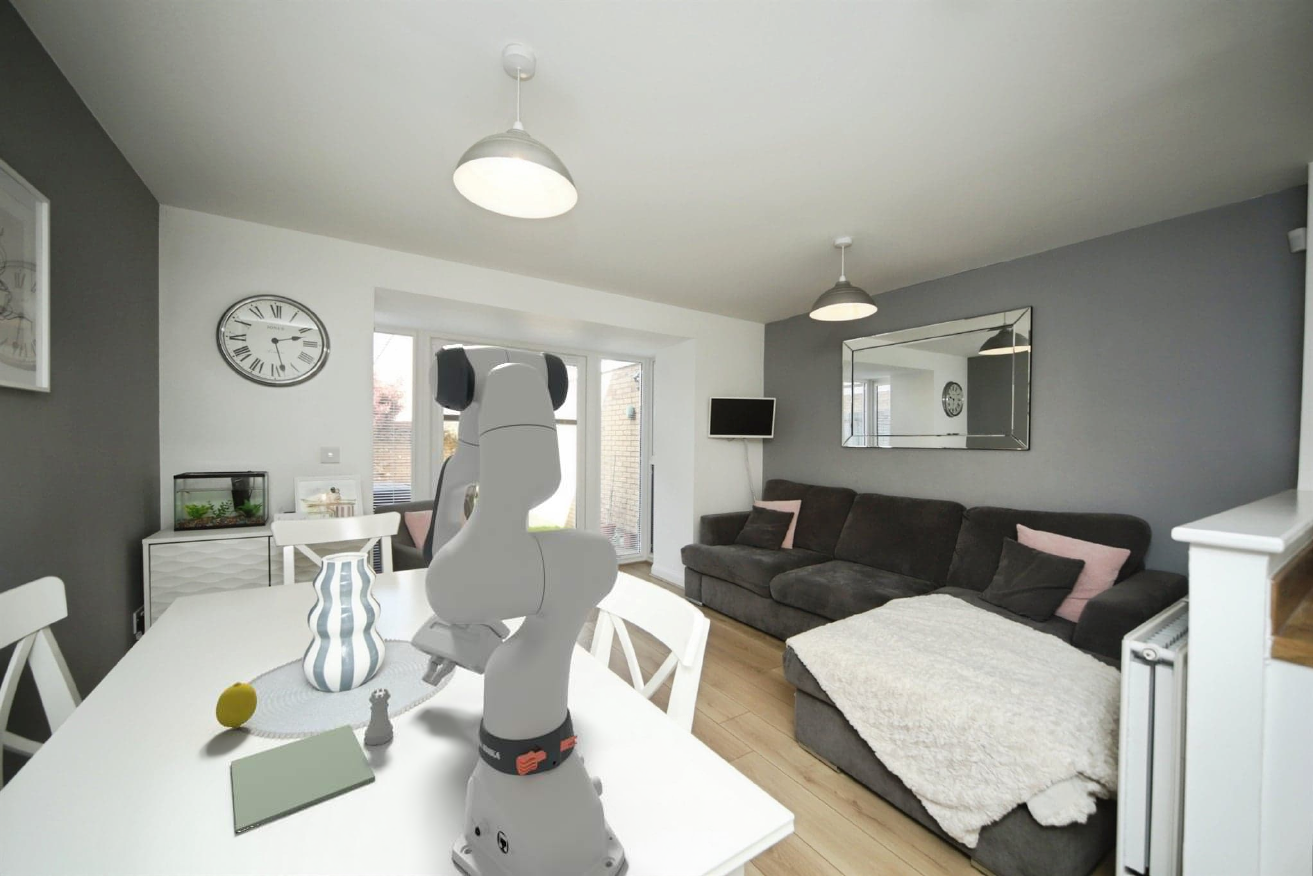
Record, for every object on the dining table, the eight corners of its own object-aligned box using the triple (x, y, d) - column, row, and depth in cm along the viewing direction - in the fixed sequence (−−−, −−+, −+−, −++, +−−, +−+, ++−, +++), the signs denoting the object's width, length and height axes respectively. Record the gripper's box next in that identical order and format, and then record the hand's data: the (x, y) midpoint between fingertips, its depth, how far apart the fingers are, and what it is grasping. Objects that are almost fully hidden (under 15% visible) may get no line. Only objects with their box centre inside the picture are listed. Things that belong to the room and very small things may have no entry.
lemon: (232, 739, 84) (234, 692, 84) (206, 735, 85) (207, 688, 85) (264, 722, 90) (265, 677, 90) (239, 717, 91) (240, 673, 91)
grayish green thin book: (375, 779, 75) (375, 776, 75) (236, 833, 64) (236, 829, 64) (349, 727, 88) (349, 724, 88) (231, 764, 78) (231, 761, 78)
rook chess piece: (372, 750, 82) (373, 701, 82) (358, 740, 85) (359, 693, 85) (398, 736, 86) (400, 690, 86) (384, 728, 88) (385, 683, 88)
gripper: (431, 598, 105) (385, 662, 97) (499, 617, 94) (453, 691, 86) (449, 613, 109) (406, 676, 100) (516, 634, 98) (474, 705, 90)
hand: (428, 683), depth 93 cm, fingers closed
